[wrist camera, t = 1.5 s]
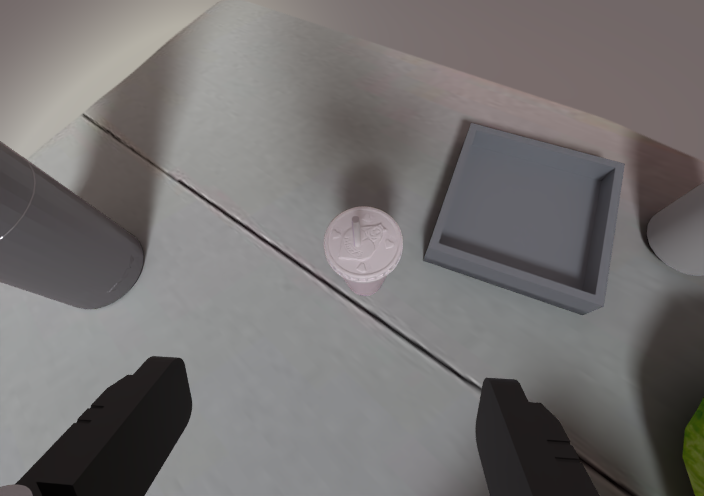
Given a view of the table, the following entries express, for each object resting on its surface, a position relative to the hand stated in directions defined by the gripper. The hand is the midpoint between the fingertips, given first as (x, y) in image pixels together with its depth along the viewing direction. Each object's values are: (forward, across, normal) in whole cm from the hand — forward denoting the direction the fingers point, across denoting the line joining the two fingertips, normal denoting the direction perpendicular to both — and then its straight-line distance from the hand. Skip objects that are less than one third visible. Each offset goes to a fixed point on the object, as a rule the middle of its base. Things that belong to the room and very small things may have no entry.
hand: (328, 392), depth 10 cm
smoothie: (+27, 0, +10) cm, 29 cm away
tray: (+32, -16, +5) cm, 36 cm away
